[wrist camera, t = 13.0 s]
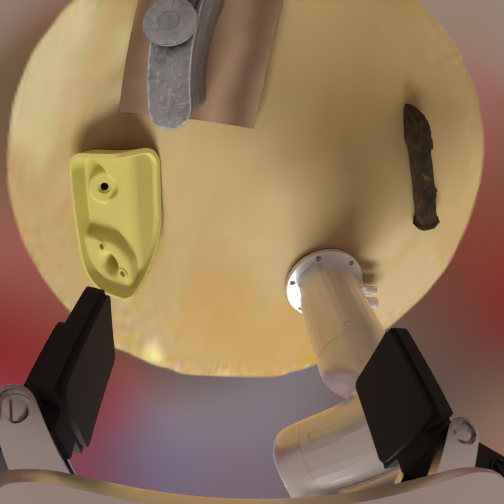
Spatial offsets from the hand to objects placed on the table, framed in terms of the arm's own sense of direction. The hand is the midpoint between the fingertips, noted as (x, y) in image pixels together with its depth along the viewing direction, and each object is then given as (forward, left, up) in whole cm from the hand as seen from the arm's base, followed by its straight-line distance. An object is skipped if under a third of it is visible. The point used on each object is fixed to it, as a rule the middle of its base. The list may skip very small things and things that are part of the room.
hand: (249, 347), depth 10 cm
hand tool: (-26, -3, -34) cm, 43 cm away
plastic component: (+14, +12, -34) cm, 38 cm away
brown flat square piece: (+6, -11, -33) cm, 35 cm away
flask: (+6, -11, -30) cm, 33 cm away
